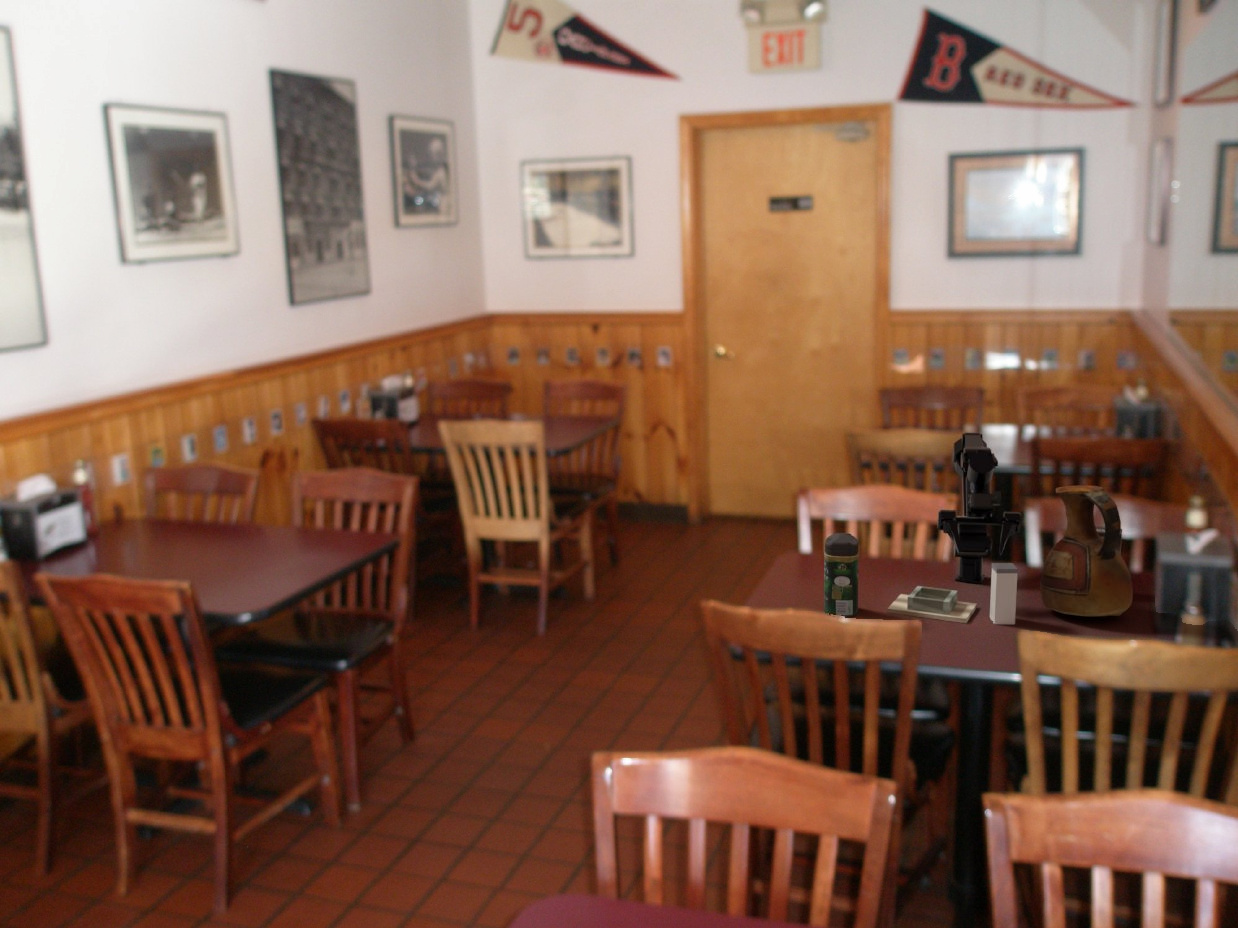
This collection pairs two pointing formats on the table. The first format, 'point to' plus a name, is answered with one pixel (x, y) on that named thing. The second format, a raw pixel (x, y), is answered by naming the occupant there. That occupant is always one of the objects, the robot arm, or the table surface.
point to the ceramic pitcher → (1087, 559)
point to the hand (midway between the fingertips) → (979, 553)
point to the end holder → (933, 605)
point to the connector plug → (1003, 593)
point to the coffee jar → (841, 574)
